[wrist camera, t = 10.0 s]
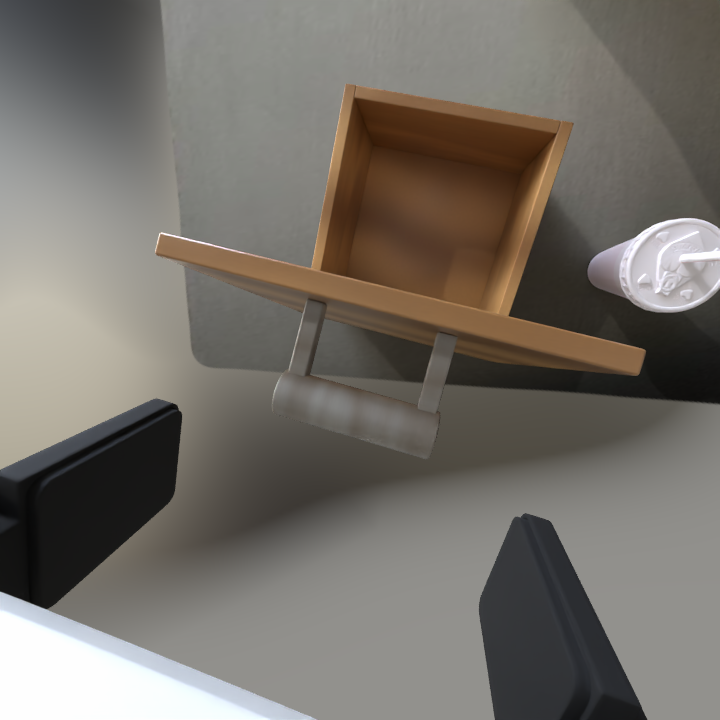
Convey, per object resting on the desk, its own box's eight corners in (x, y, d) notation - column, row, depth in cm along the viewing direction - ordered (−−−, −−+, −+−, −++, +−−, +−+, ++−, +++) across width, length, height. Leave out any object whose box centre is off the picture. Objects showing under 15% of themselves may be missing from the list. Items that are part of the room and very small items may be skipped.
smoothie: (661, 247, 33) (827, 226, 19) (624, 313, 34) (752, 336, 21) (592, 224, 33) (705, 187, 20) (559, 290, 35) (642, 298, 21)
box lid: (158, 230, 12) (122, 385, 12) (648, 349, 10) (593, 529, 10) (303, 302, 29) (286, 367, 29) (497, 352, 27) (478, 420, 27)
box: (368, 138, 35) (345, 82, 25) (530, 169, 33) (574, 122, 23) (335, 299, 39) (303, 307, 29) (477, 335, 37) (495, 356, 27)
